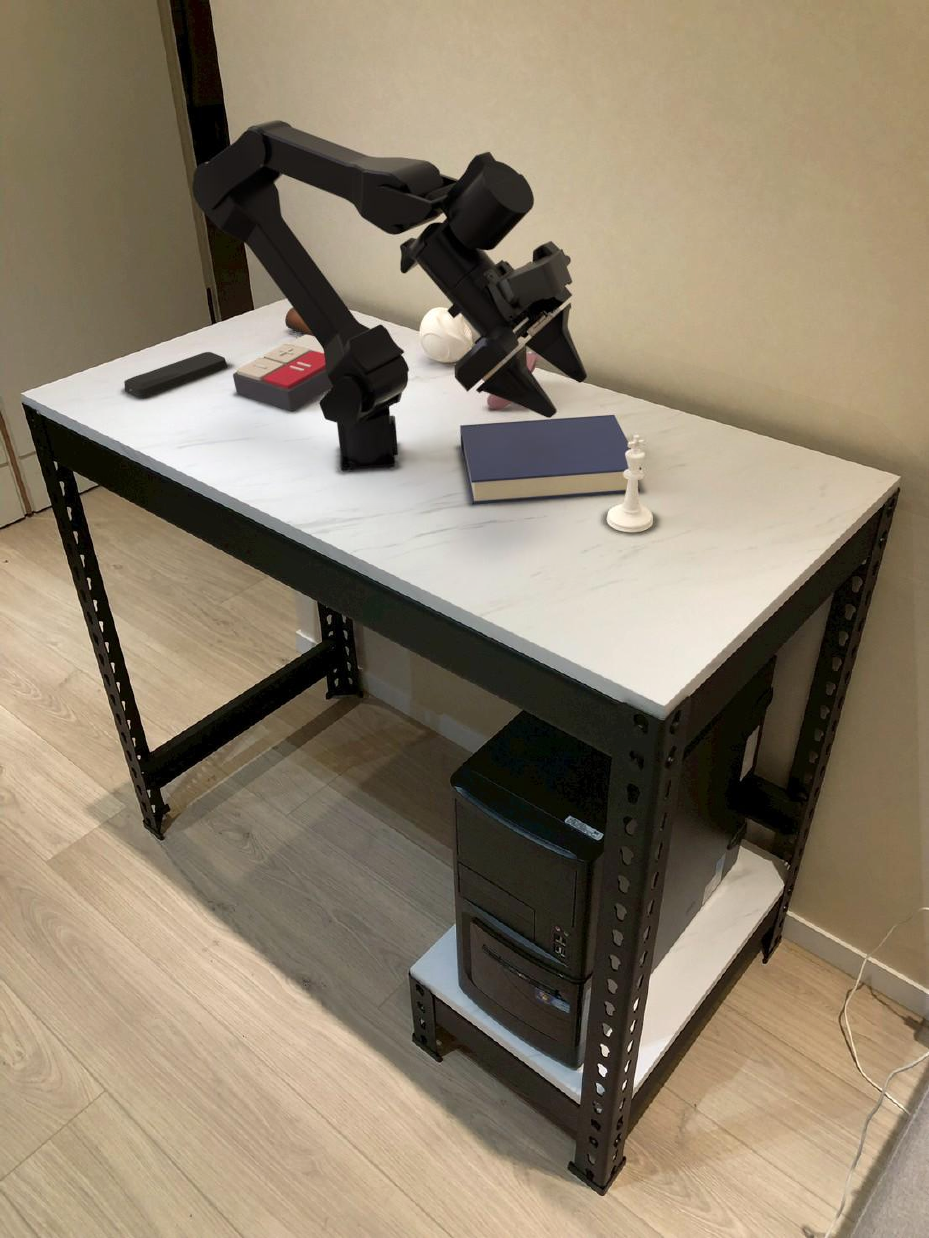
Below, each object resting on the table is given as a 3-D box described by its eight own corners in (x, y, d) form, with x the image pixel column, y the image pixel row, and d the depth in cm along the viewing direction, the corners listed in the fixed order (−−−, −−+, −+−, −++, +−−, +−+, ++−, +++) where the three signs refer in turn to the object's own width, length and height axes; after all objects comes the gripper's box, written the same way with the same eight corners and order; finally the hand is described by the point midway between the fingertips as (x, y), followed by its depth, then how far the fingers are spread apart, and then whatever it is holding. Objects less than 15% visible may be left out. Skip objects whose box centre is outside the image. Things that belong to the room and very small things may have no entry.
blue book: (472, 504, 110) (471, 480, 108) (460, 447, 121) (460, 425, 119) (639, 491, 111) (641, 468, 109) (612, 436, 122) (614, 414, 120)
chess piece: (598, 515, 107) (603, 431, 101) (637, 505, 108) (644, 421, 102) (621, 536, 103) (628, 451, 97) (661, 526, 105) (670, 440, 99)
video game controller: (513, 422, 129) (538, 379, 125) (483, 406, 129) (506, 362, 125) (525, 392, 137) (548, 350, 133) (496, 376, 137) (518, 334, 132)
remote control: (211, 362, 147) (122, 390, 138) (209, 350, 146) (119, 378, 137) (230, 370, 144) (141, 399, 135) (229, 358, 143) (138, 387, 134)
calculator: (229, 369, 134) (305, 329, 143) (236, 398, 136) (309, 357, 145) (287, 386, 128) (362, 344, 137) (293, 416, 131) (365, 372, 140)
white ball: (472, 370, 140) (471, 317, 135) (419, 372, 140) (416, 319, 135) (473, 349, 146) (471, 298, 142) (422, 351, 146) (419, 299, 142)
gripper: (481, 250, 86) (595, 387, 88) (555, 198, 99) (653, 318, 102) (407, 327, 93) (515, 451, 96) (485, 269, 107) (578, 380, 109)
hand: (569, 397), depth 100 cm, fingers open, 9 cm apart
